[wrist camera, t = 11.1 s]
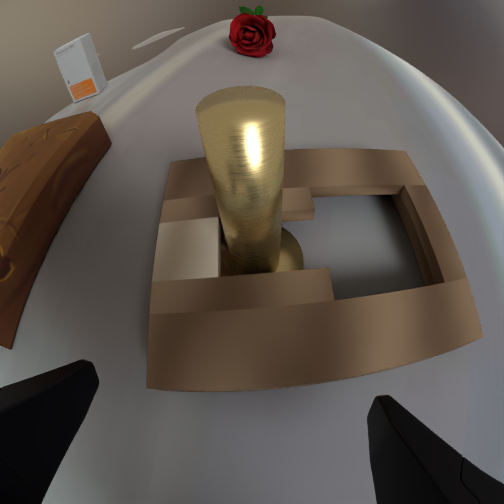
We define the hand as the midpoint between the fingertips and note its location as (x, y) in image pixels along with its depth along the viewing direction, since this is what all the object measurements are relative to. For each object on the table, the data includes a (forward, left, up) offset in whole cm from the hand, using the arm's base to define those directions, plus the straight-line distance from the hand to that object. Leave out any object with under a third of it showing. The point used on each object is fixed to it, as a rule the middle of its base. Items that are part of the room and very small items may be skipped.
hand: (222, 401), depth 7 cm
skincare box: (+10, +51, -7) cm, 52 cm away
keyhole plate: (+9, +3, -7) cm, 12 cm away
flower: (+41, +42, -7) cm, 59 cm away
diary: (-9, +28, -8) cm, 30 cm away
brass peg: (+6, +5, -7) cm, 11 cm away
